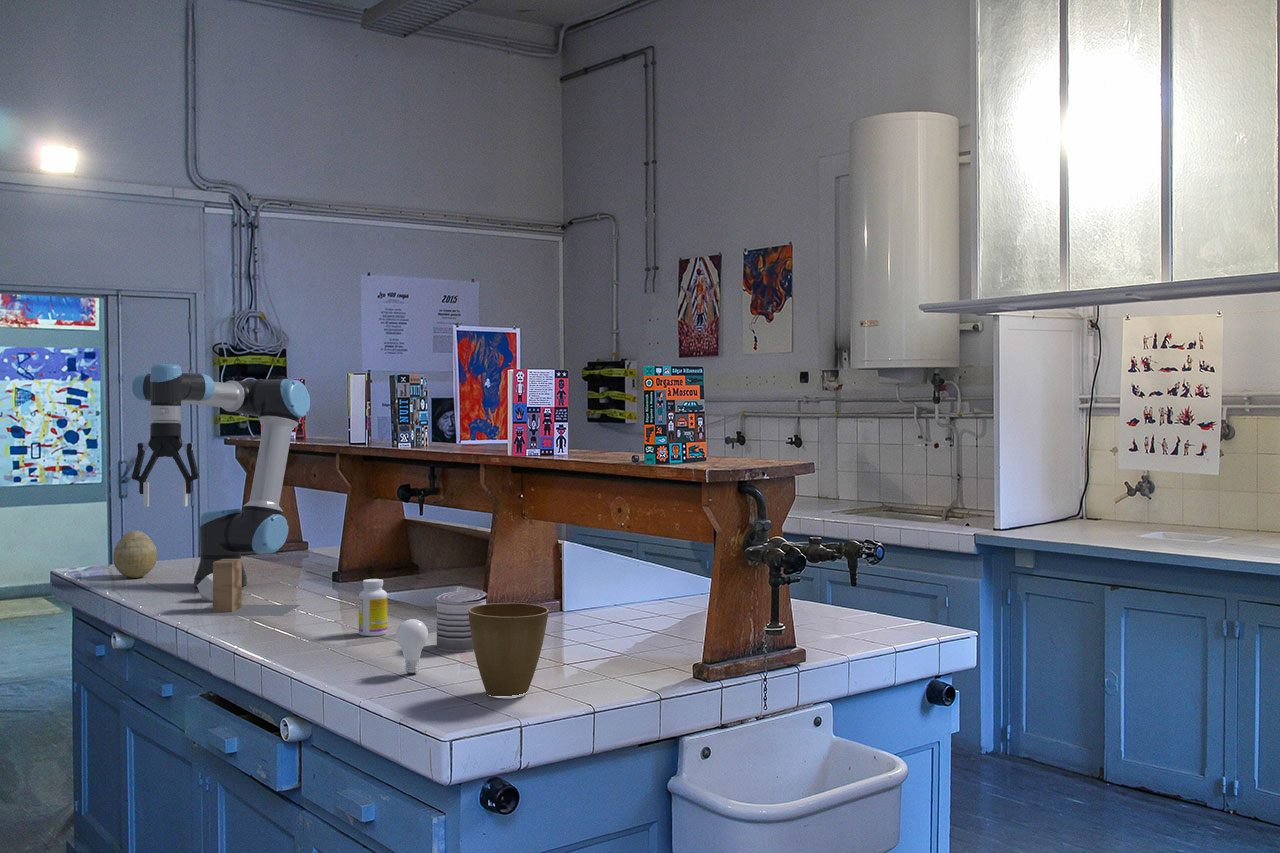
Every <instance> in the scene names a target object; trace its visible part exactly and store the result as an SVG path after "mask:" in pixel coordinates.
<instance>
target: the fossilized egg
mask: <svg viewBox="0 0 1280 853" xmlns="http://www.w3.org/2000/svg"><path fill="white" fill-rule="evenodd" d="M157 550H158V549H157V548H156V545H155V543H154V541H153V540H152V539H151V537H150V536H149V535H147V534H146V533H144V532H143V531H141V530H131V531H128V532H127V533H125V534H124V535H123V536H122V537H121V538H120V539H119V540H118V542H117V543H116V545H115V547H114V550H113V555H112V559H113V564H114V567H115V570H117V571H118V572H119V573H120V574H121V575H122V576H124V577H127V578H131V579H139V578H142V577H145V576H147V574H149V573H150V572H151V571H152V570H153V569H154V568H155V566H156V563H157V560H158V551H157Z"/></svg>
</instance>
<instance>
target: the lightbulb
mask: <svg viewBox="0 0 1280 853" xmlns="http://www.w3.org/2000/svg"><path fill="white" fill-rule="evenodd" d="M395 639H396V643H397V644H398V647H400V649H401V651H402V654H403V658H404V664H405V668H404V669H405V670H404V672H405V673H407V674H409V675H415V674H416V673H418V672H419V670H420V668H419V667H420V666H419V664H420V662H419V661H420V658H421V654H422V650H423V648H424V647H425V646H426V645H427V642H428V639H429V630H428V628H427V626H426V624H425V623H424V622H423V621H421V620H419V619H416V618H410V619H406V620H405V621H402V623H400V624H399V625H398V627H397V629H396V633H395Z"/></svg>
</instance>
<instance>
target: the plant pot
mask: <svg viewBox="0 0 1280 853" xmlns="http://www.w3.org/2000/svg"><path fill="white" fill-rule="evenodd" d="M549 612H550V611H549V608H547V607H546V606H542V605H538V604H533V603H521V602H520V603H519V602H499V603H498V602H497V603H486V604H484V605H477V606H473V607H471V608H469V609H468V613H469V622H470V630H471V637H472V642H473V647H474V651H473V652H474V656H475V660H476V664H477V665H476V666H477V669H478V672H479V675H480V678H481V682H482V684H483V687H484V690H485V693H486V695H487V694H488V695H491V696H512V695H519V694H523V693H526V692H527V691H529V689H530V686H531V683H532V682H533V679H534V676H535V672H536V669H537V667H538V662H539V660H540V656H541V653H542V648H543V644H544V639H545V636H546V630H547V624H548V618H549ZM527 693H528V692H527ZM488 695H487V696H488Z"/></svg>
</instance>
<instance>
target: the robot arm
mask: <svg viewBox="0 0 1280 853" xmlns="http://www.w3.org/2000/svg"><path fill="white" fill-rule="evenodd" d="M131 390H132V394H133V395H134V397H135V398H136V399H137V400H139V401H146V402H150V410H149V411H150V421H152V423H150V426H149V429H150V438H149V441H148V442H138V443H137V444H136V445H137V446H136V447H137V454H136V459H135V462H134V467H133V471H132V474H131V479H132V480H133V481H137V482H138V483H139V485H138V487H139V490H138V491H139V492H138V493H139V494H140V495H143V497H142V498H143V499H142V500H143V503H142V505H143V506H142V507H143V508H147V507H149V506H150V482H149V481H147V479H148V477H149V475H150V473H151V471H152V470H153V468H154V466H155V465H156V462H157V461H158V459H159V458H163V457H167V458H172V459H173V461H175V464H176V465H177V467H178V469H179V471H180V473H181V475H182V477H183V478H184V480H185V481H183V482H182V484H181V485H182V492H181V494H182V496H181V500H182V504H181V506H182V508H183V507H184V508H185V507H187V506H188V499H189V498H188V495H190V494H191V493H192V492H193V491H192V487H193V486H192V485H193V484H192V483H193V481H195V480H198V479H199V478H200V474H199V469H198V467H197V463H196V458H195V454H194V446H195V444H194V443H193V442H184V441H183V440H182V424H181V423H180V422H181V421H182V404H186V405H195V406H204V407H205V406H206V407H212V408H213V407H216V408H222V410H224V411H226V412H229V413H236V414H237V413H238V414H243V415H246V416H247V415H248V416H252V417H259V418H258V419H259V421H260V422H261V424H262V429H261V430H262V431H261V434H260V435H261V436H260V442H259V445H258V447H259V448H258V453H257V458H256V462H255V469H254V475H253V480H252V487H251V492H250V497H249V501H248V502H247V503H245V504H244V505H243V506H242V509H241V508H231V509H224V510H213V511H207V512H206V511H205V512H204V513H202V515H201V516H200V524H199V539H200V540H199V546H200V548H199V552H200V553H199V554H200V555H199V556H200V558H199V563H198V566H197V570H196V572H195V576H194V578H193V587H194V589H195V588H196V589H198V587H197V585H198V584H199V583H200V582H201V581H202V580H203V579H204V578H205V577H206V576H208V575H209V574H211V573H213V562H215V561H218V560H221V559H242V553H246V554H247V553H250V554H251V553H252V554H260V555H263V554H273V553H276V552H277V551H279V549H281V548H282V547H283V546H284V544H285V543H286V540H287V538H288V534H289V525H288V521H287V519H286V517H285V516H283V514H284V510H283V509H282V508H281V506H280V501H281V496H282V489H283V484H284V478H285V473H286V467H287V463H288V457H289V456H288V455H289V449H290V443H291V441H292V440H291V439H292V433H293V429H295V428H297V427H298V426H299V424H300V423H299V422H300V418H303V417H305V416H306V415H307V414H308V413H309V411H310V407H311V397H310V393H309V392H308V389H307V387H306V386H305V384H304V383H303V382H302V381H300V380H298V379H288V378H282V379H277V378H276V379H262V378H261V379H251V380H250V379H249V380H248V379H247V380H227V381H225V382H221V381H214V379H213V378H212V376H210V375H208V374H203V373H200V372H199V373H193V372H191V373H190V372H189V373H188V372H184V373H183V371H182V367H181V365H180V364H179V365H178V364H172V363H171V364H170V363H169V364H168V363H167V364H166V363H164V364H163V363H159V364H158V363H157V364H153V365H152V366H151V367H150V373H148V372H147V373H141V374H140V373H139V374H138V375H136V376H135V377H134V379H133V380H132V383H131ZM148 448H150V450H151V451H152V453H151V456H150V458H149V460H148V462H147V464H145V465H146V466H145V467H144V469H143V471H142V472H141V470H142V466H143V463H144V458H145V455H146V451H147V450H148ZM182 448H183V449H184V451H186V457H187V461H188V465H189V468H190V472H191V473H190V472H189V470H188V469H187V467H186V465H185V463H184V461H183V459H182V456H181V454H180V452H179V451H180V450H181V449H182ZM247 585H248V576H247V572H246V569H245V568H244V565H243V563H242V587H245V586H247Z"/></svg>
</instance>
